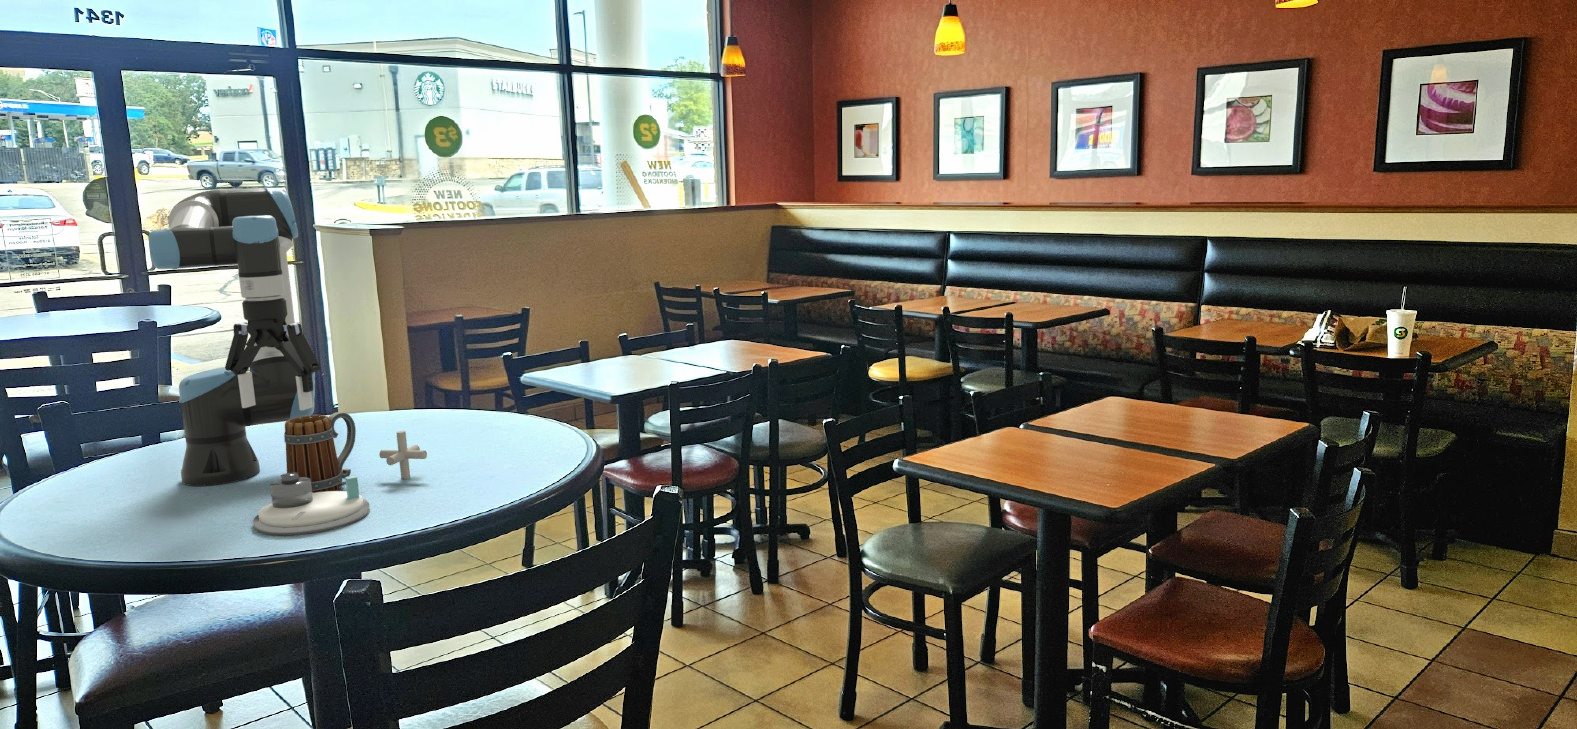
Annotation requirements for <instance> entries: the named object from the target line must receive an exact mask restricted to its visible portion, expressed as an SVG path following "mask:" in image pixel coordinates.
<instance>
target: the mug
mask: <svg viewBox="0 0 1577 729" xmlns="http://www.w3.org/2000/svg"><path fill="white" fill-rule="evenodd" d="M352 417H353V416H351V415H350V414H348V413H347V412H339V411H337V412H333V413H331V414H330V416H328V415H325V414H312V415H311V416H309V415H308V416H302V418H300V417H295V418H293V419H289V420H287V421H285V422H284V434H283V437H284V438H283V439H284V443H285V456H286V457H285V458H286V461H285V462H286V473H292V472H296V473H298V476H299V477H307V478H310V479H311V487H312V493H316V492H327V491H339V490H340V489H341V487H342V486H343V479H345V477H349V476H351V473H352V469H351V468H343V466H344V465H345V462H346V461H347V460H348V457H349V456H350V455H351V453H352V451H353V449H354V446H355V442H356V435H357V434H356V432H357V430H356V423H355V420H354V418H352ZM338 419H343V420H344V423H345V425H346V442H345V444H344V447H343V449H342V450H341V452H340V454H339V455H338V456H337V451H336V445H335V439H337V437H338V435H339V433H338V432H336V430H335V424H336V422H337V420H338Z"/></svg>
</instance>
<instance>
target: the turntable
mask: <svg viewBox="0 0 1577 729" xmlns="http://www.w3.org/2000/svg"><path fill="white" fill-rule="evenodd" d="M345 487H346V488H345V489H346V490H345V491H344V490H343V491H342V490H337V491H327V492H316V493H312V495H313V501H312V502H310V503H308V504H306V505H303V506H298V507H293V508H275V507H273V505H272V502H270V503H269V504H266V505H265V506H263V507H262V508H260V509H259V511H258V514H257V515H259V521H260V522H261V523H262V524H264V525H267V526H273V527H299V526H308V525H315V524H321V523H326V522H330V521H334V520H337V519H341V518H344V517H347V516H349V515H352V514H354V513H356V512H357V511H359V510H360V509H361V508H362V507H363V499H364V497H363V496H362V495H361V494H360V491H359V490H360V489H359V483H358V476H356V475H350V476H349V477H345Z"/></svg>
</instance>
